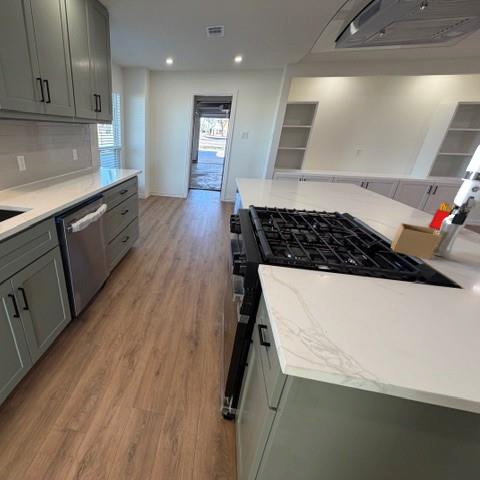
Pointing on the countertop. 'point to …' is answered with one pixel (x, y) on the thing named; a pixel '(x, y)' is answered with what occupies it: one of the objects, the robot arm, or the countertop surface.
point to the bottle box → (415, 240)
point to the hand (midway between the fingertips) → (454, 221)
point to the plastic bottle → (447, 235)
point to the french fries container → (440, 216)
